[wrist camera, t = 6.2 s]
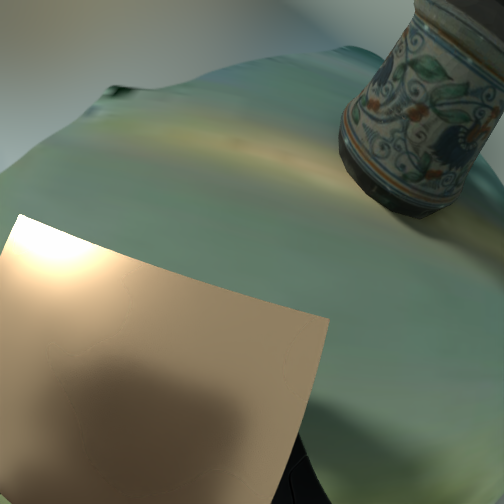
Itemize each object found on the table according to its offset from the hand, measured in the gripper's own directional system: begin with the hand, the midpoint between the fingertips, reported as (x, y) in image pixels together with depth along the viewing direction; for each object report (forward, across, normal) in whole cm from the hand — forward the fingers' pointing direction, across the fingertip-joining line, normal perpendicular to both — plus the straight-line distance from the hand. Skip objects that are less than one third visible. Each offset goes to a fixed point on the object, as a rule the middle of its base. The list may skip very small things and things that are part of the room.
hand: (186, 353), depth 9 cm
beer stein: (+29, -13, -10) cm, 33 cm away
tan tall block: (+4, 0, +6) cm, 7 cm away
